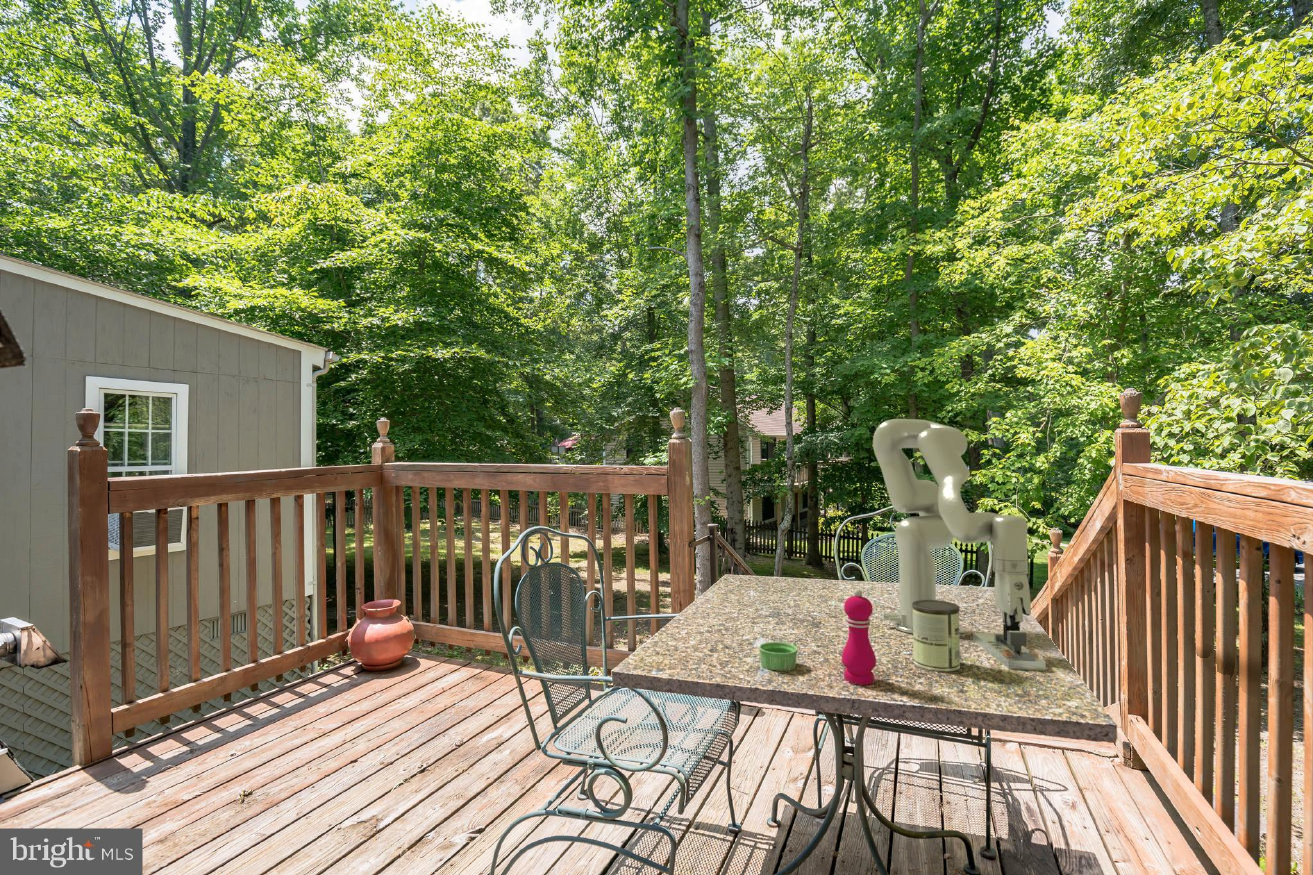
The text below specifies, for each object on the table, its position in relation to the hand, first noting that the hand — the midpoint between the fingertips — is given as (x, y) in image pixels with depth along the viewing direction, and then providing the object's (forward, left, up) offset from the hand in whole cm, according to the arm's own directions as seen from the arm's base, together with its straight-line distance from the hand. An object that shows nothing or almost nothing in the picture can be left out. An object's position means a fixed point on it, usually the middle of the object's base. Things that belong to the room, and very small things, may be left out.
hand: (1011, 641), depth 159 cm
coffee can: (-20, -8, -4) cm, 22 cm away
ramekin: (-57, -13, -4) cm, 59 cm away
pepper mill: (-40, -21, -4) cm, 46 cm away
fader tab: (0, -3, -1) cm, 4 cm away
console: (-1, +2, -4) cm, 4 cm away
